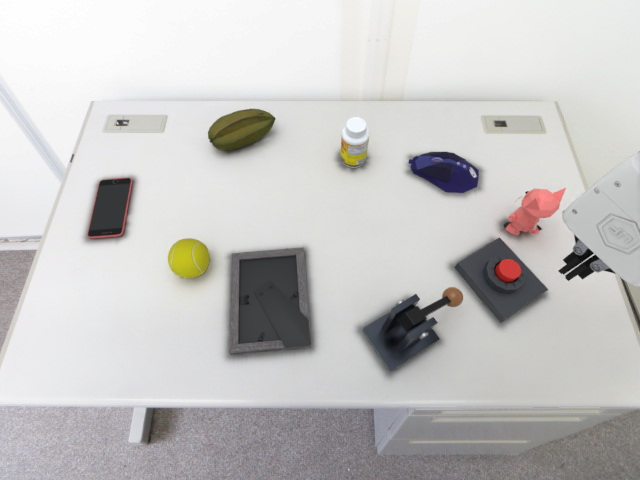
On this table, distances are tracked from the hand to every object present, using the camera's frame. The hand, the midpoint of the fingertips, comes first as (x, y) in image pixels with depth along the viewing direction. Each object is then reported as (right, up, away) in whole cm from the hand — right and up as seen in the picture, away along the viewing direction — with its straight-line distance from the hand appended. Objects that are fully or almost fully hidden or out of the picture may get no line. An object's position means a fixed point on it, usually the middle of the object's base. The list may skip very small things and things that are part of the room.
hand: (571, 270), depth 45 cm
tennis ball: (-54, -1, +25) cm, 59 cm away
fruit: (-47, +26, +39) cm, 67 cm away
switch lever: (-13, -8, +13) cm, 21 cm away
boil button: (+2, -2, +19) cm, 20 cm away
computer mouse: (-5, +18, +34) cm, 39 cm away
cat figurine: (+8, +6, +28) cm, 29 cm away
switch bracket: (-17, -12, +18) cm, 28 cm away
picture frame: (-39, -7, +22) cm, 45 cm away
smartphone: (-73, +10, +31) cm, 80 cm away
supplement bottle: (-23, +21, +36) cm, 48 cm away
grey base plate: (+2, -4, +23) cm, 23 cm away
